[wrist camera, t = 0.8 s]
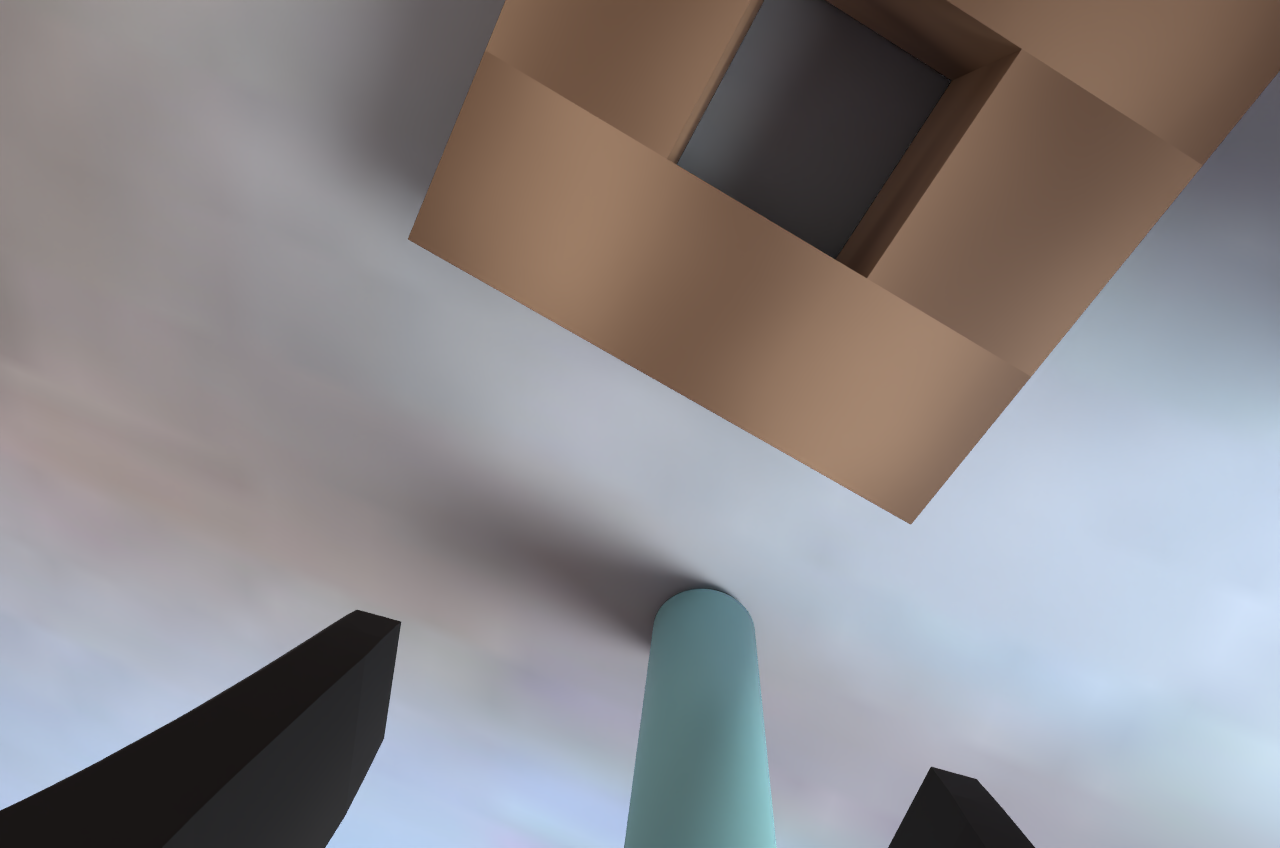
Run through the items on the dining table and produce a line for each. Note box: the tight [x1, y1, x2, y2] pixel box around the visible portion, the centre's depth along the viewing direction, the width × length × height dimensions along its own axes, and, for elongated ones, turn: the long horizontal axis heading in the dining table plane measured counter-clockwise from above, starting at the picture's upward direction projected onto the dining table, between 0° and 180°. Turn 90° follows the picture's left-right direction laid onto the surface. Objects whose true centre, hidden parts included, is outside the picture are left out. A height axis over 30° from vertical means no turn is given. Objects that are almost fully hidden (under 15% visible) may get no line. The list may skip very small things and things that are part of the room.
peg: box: [624, 589, 776, 848], centre depth 16 cm, size 3×3×9 cm
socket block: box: [408, 0, 1280, 524], centre depth 14 cm, size 12×12×4 cm
